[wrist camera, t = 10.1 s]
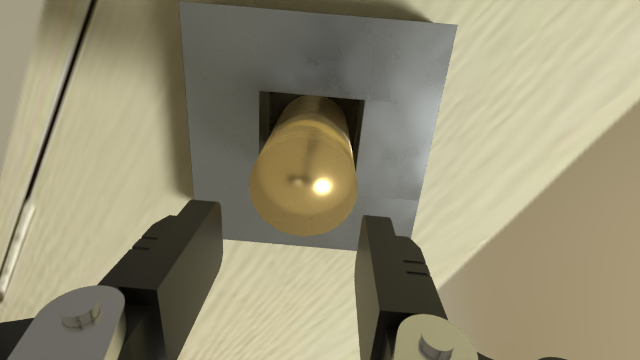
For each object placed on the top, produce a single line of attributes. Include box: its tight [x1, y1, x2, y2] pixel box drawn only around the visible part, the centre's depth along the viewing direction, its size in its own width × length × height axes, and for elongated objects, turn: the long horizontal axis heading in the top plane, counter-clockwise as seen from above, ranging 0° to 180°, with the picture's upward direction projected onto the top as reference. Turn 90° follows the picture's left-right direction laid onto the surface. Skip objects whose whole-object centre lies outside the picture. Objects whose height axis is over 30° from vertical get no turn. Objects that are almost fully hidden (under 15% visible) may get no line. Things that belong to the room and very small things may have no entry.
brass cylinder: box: [249, 95, 358, 236], centre depth 16 cm, size 4×4×8 cm
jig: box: [179, 1, 457, 251], centre depth 19 cm, size 12×12×3 cm
